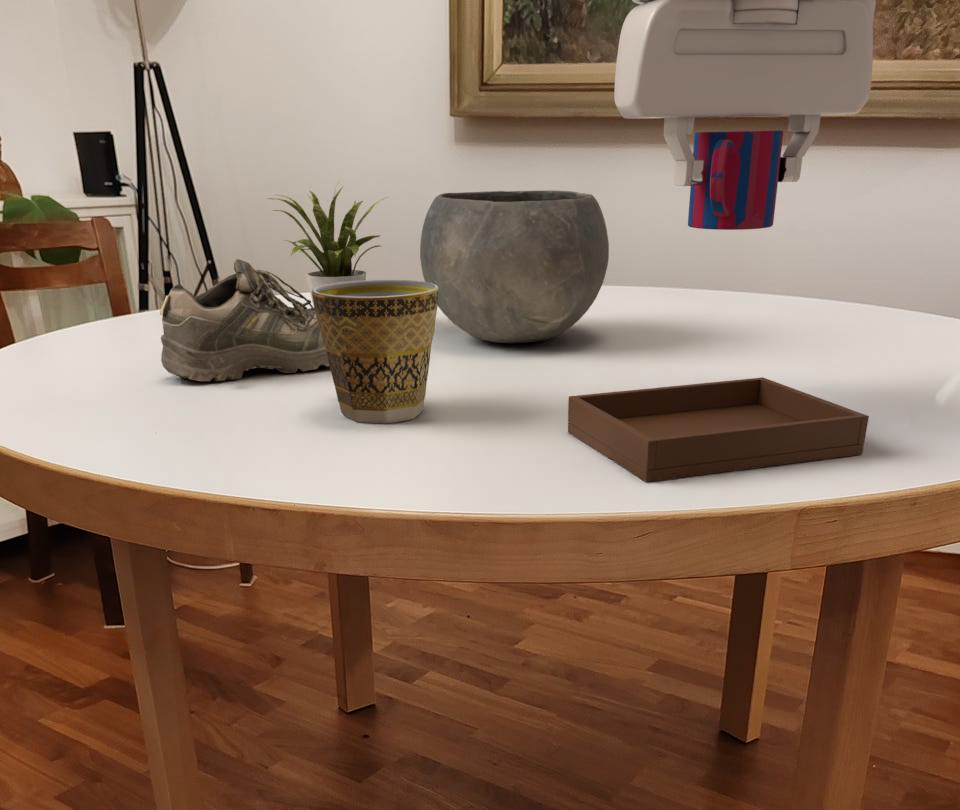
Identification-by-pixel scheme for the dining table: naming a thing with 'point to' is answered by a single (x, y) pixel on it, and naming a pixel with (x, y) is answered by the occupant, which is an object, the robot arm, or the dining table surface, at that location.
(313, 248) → the house plant
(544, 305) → the bowl
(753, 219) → the cup
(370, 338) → the ceramic cup
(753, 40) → the robot arm
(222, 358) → the hiking shoe
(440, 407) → the dining table surface
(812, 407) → the tray
